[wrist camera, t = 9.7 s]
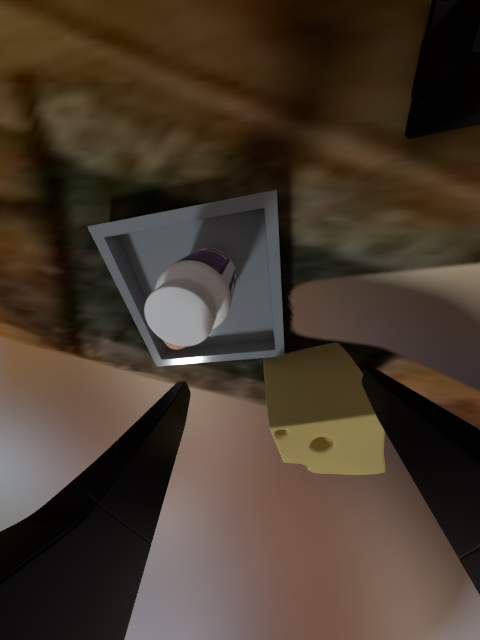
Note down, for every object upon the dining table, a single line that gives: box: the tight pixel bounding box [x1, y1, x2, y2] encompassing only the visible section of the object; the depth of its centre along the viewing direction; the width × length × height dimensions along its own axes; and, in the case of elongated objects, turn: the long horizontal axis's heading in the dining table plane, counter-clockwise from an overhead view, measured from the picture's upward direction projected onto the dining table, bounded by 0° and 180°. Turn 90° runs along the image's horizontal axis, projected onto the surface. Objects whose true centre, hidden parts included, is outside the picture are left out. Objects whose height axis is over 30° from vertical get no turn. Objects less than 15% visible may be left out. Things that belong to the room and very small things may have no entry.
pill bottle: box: [144, 248, 237, 346], centre depth 15 cm, size 5×5×10 cm
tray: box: [88, 190, 285, 366], centre depth 19 cm, size 16×16×3 cm
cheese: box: [264, 342, 385, 475], centre depth 21 cm, size 10×11×10 cm
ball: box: [164, 341, 186, 350], centre depth 21 cm, size 3×3×3 cm
